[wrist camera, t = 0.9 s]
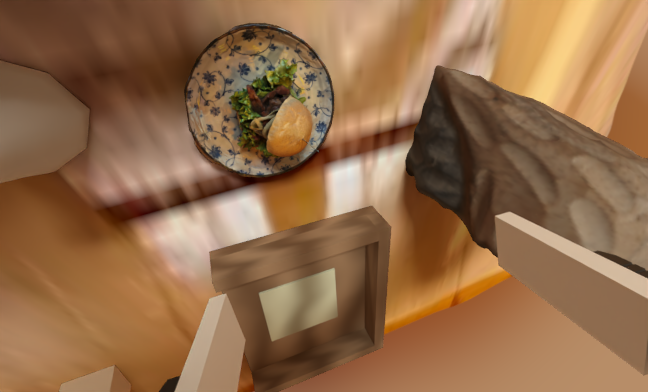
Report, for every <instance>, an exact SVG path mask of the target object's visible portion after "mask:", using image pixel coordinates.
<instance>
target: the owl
mask: <svg viewBox="0 0 648 392" xmlns="http://www.w3.org/2000/svg"><path fill="white" fill-rule="evenodd" d="M406 171H407V173H408V174H409V175H410V176H414V177H415V181H416V188H417V190H418V191H419V192H420V193H422V194H424V195H426V196H428V197H430V198H432V199H434V200H435V201H437V202H438V203H439V204H440V205H441V206H442V207H443V208H447V209H450V210H452V211H453V212H454V213H456V214H457V215H458V217H459V218H460V219H461V220H462V221H463V222H464V224H465V225H466V227H467V229H468V231H469V233H470V235H471V237H472V239H473V241H474V242H476V243H477V245H479V246H480V247H482V248H488V249H489V250H490V251H491V252H492V254H493V255H495V256H496V257H498V252H497V239H496V226H495V216H496V215H500V214H503V213H507V212H512V213H514V214H516V215H518V216H520V217H522V218H524V219H526V220H528V221H530V222H532V223H534V224H536V225H538V226H540V227H542V228H544V229H547V230H549V231H551V232H553V233H555V234H557V235H559V236H561V237H563V238H565V239H567V240H569V241H571V242H573V243H575V244H577V245H580V246H582V247H584V248H586V249H588V250H590V251H592V252H594V251H597V250H598V251H602V252H605V253H609V254H613V255H617V256H619V257H621V258H623V259H625V260H627V261H630V262H632V264H633V265H634V264H636V265H638V266H640V267H643V268H645V270H646V271H648V158H642V157H640V156H638V155H637V154H635V153H634V152H633V151H632V150H630V149H628V148H626V147H624V146H623V145H621V144H619V143H617V142H615V141H613V140H611V139H609V138H607V137H605V136H603V135H601V134H599V133H596V132H594V131H593V130H592V129H590V128H589V127H586V126H585V125H583V124H581V123H579V122H578V121H576V120H574V119H572V118H570V117H568V116H566V115H565V114H562V113H560V112H558V111H556V110H554V109H552V108H551V107H549V106H547V105H545V104H543V103H541V102H539V101H536V100H534V99H532V98H528V97H524V96H520V95H517V94H515V93H512V92H509V91H506V90H504V89H502V88H500V87H499V86H498V85H496V84H494V83H492V82H488V81H486V80H485V79H484V78H482V77H481V76H475V75H470V74H467V73H465V72H462V71H458V70H455V69H448V68H444V67H442V66H436V68H435V73H434V76H433V80H432V82H431V85H430V89H429V92H428V96H427V99H426V101H425V103H424V106H423V109H422V115H421V119H420V122H419V124H418V125H417V127H416V129H415V132H414V142H413V145H412V147H411V148H410V150H409V152H408V154H407V157H406Z"/></svg>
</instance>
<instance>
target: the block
mask: <svg viewBox="0 0 648 392" xmlns="http://www.w3.org/2000/svg"><path fill="white" fill-rule="evenodd" d="M130 391H131V384H130V383H129V382H128V381H127V379H126V378H125V377H124V376H123V374H122V373H121V372H120V371H119V369H118V368H117V367H116V366H115V365H113V366H111V367H108V368H105V369H102V370H99V371H96V372H93V373H91V374H88V375H85V376H82V377H79V378H76V379H73V380H71V381H68V382H65V383H62V384H61V387H60V390H59V392H130Z"/></svg>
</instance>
